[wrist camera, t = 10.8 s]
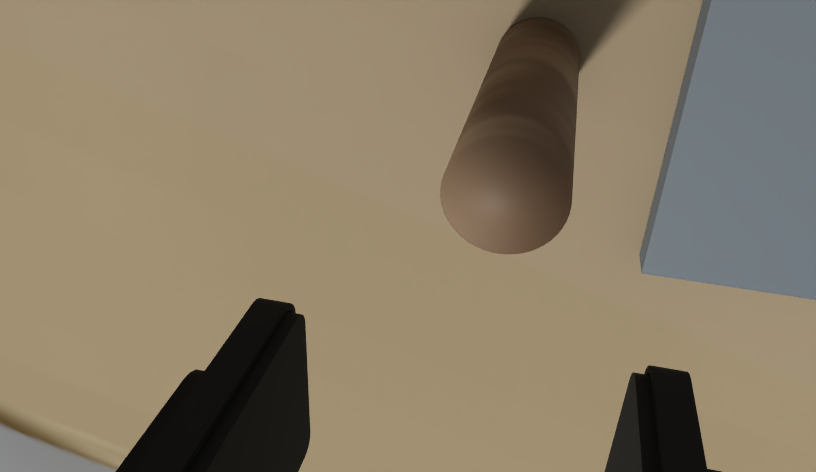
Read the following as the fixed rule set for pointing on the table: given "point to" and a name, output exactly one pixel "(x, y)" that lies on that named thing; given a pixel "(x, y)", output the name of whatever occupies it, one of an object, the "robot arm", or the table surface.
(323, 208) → the table surface
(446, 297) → the table surface
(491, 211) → the dowel
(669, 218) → the jig board
